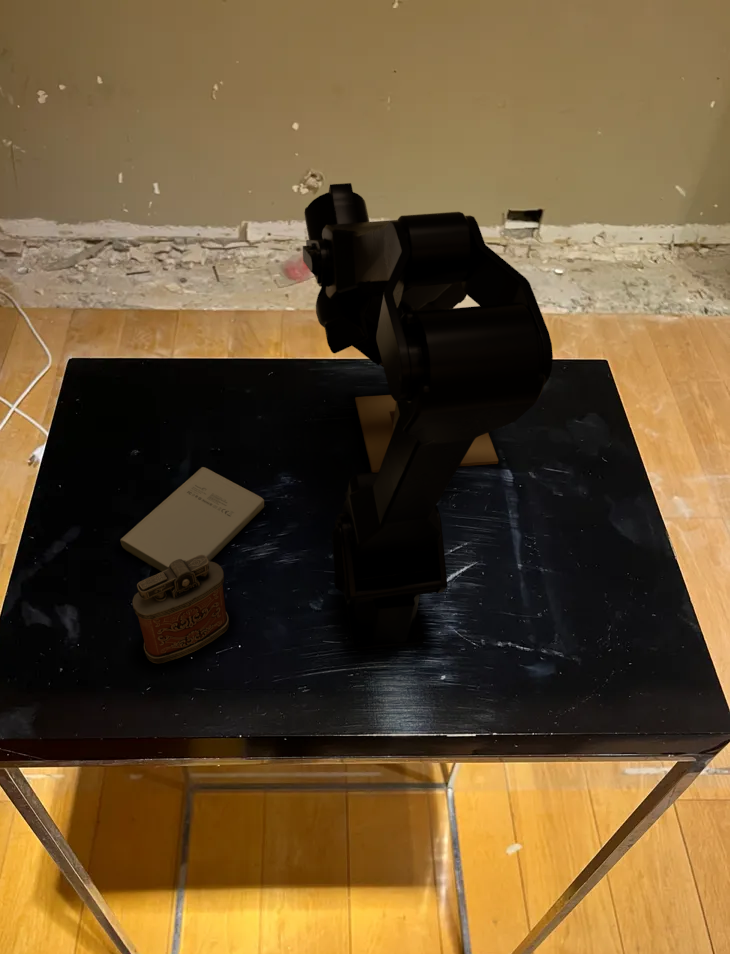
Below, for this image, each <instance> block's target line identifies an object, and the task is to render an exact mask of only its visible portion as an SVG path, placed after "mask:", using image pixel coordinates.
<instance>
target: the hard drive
mask: <svg viewBox="0 0 730 954" xmlns="http://www.w3.org/2000/svg"><path fill="white" fill-rule="evenodd" d="M264 508H265V499H264V498H263V497H261V496H260V495H258V494H256V493H255V492H253V491H250V490H248V489H247V488H244V487H242V486H241V485H239V484H237V483H235V482H233V481H231V480H230V479H228V478H226V477H224V476H222V475H220V474H218V473H216V472H214V471H213V470H211V469H209V468H207V467H204V466H201V467H200V468H199V469H198V470H197V471H196V472H194V474H193V475H191V476H190V477H189V478H188V479H187V480H186V481H185V482H184V483H182V484H181V485H180V486H178V488H177V489H175V490H174V491H173V492H172V493H170V495H169V496H168V497H166V498H165V499H164V500H163V501H162V502H161V503H160V504H158V505H157V506H156V507H155V508H154V509H153V510H152V511H151V512H149V513H148V514H147V515H146V516H145V517H144V518H143V519H141V520H140V521H139V522H138V523H137V524H136V525H135V526H134V527H133V528H131V529H130V530H129V531H128V532H127V533H126V534H125V535H123V537H121V538H120V545H121V548H122V549H123V550H125V551H126V552H128V553H129V554H131V555H133V556H134V557H136V558H137V559H139V560H140V561H143V562H144V563H146V564H148V565H149V566H151V567H153V568H154V569H156V570H157V571H160V572H163V571H165V570H167V568H168V567H169V565H170V564H171V563H172V562H173V561H175V560H178V559H182V560H185V561H187V560H189V559H192V558H194V557H196V556H198V555H205V556H206V557H207V559H208V561H210V562H212V560H213V559H214V558H215V557H216V556H217V555H218V554H219V553H220V552H222V550H223V549H224V548H225V547H226V546H227V545H228V544H229V543H230V542H231V541H232V540H233V539H234V538H235V537H236V536H237V535H238V534H240V532H241V531H242V530H243V529H244V528H245V527H246V526H247V525H248V524H249V523H250V522H251V521H252V520H253V519H254V518H255V517H256V516H257V515H258V514H259V513H260V512H261V511H262V510H263V509H264Z"/></svg>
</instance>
